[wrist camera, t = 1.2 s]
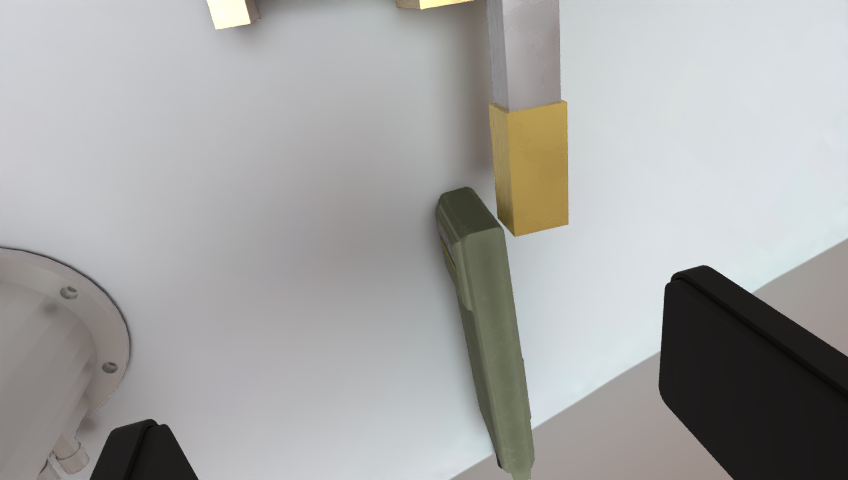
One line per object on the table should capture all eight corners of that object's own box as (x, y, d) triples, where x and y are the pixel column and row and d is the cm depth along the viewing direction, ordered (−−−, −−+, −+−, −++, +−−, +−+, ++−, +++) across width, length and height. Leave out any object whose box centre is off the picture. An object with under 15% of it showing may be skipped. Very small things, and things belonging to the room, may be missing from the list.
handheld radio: (479, 182, 33) (519, 445, 44) (429, 194, 33) (483, 456, 44) (512, 223, 27) (549, 515, 38) (453, 239, 27) (508, 527, 38)
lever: (446, -162, 19) (464, -182, 17) (554, -175, 20) (584, -196, 18) (483, 221, 27) (499, 240, 24) (561, 203, 27) (583, 220, 25)
